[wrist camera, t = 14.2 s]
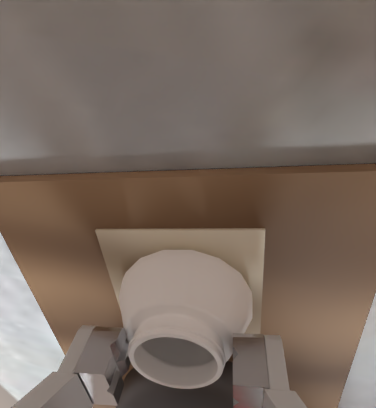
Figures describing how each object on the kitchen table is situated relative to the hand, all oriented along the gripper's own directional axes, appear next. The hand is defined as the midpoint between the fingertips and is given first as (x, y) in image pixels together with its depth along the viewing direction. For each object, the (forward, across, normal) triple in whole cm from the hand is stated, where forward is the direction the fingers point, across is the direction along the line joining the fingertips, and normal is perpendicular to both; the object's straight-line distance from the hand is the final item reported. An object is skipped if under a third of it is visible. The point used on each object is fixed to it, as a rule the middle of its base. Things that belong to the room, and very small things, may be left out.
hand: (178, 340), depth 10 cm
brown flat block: (+3, 0, +4) cm, 5 cm away
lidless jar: (+2, 0, 0) cm, 2 cm away
